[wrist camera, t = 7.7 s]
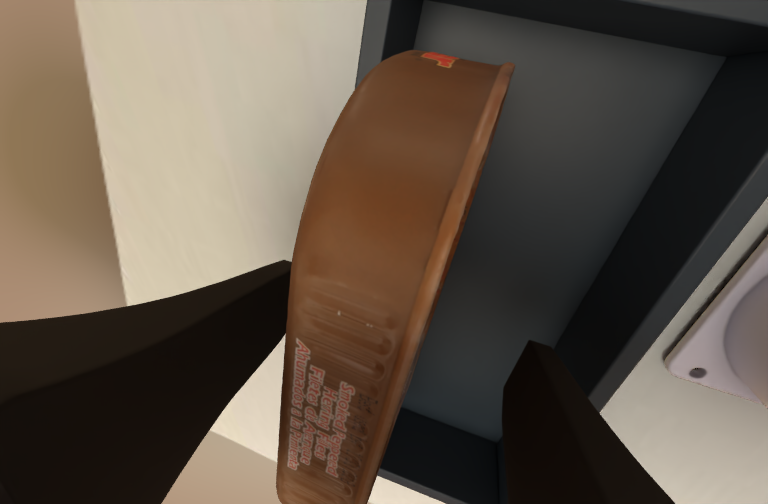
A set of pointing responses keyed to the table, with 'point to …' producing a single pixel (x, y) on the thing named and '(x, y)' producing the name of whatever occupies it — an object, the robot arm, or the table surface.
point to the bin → (576, 201)
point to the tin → (377, 263)
